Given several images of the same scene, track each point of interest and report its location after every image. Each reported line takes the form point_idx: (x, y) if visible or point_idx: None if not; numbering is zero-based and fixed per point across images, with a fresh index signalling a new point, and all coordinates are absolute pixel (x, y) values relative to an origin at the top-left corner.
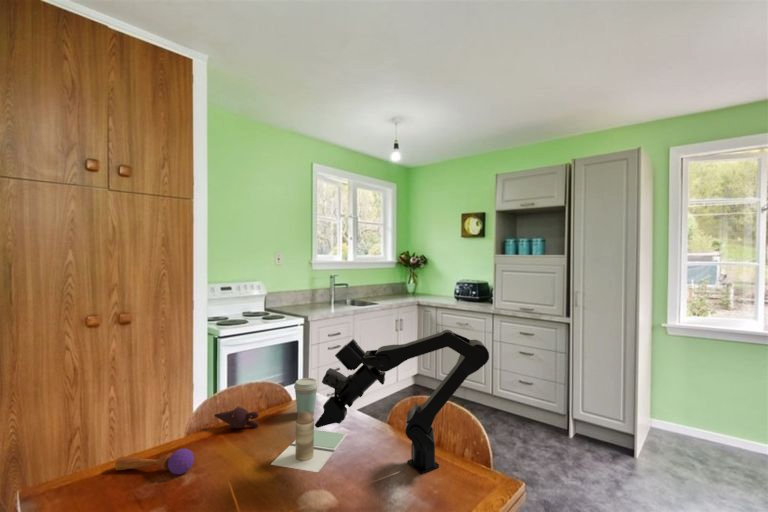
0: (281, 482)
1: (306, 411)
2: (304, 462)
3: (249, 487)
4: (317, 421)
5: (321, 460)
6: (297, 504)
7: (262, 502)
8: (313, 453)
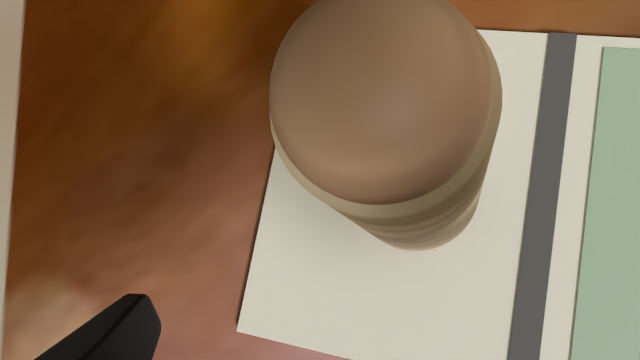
0: (162, 148)
1: (405, 58)
2: (336, 213)
3: (127, 19)
4: (58, 345)
5: (371, 324)
6: (10, 287)
7: (32, 125)
8: (428, 248)
